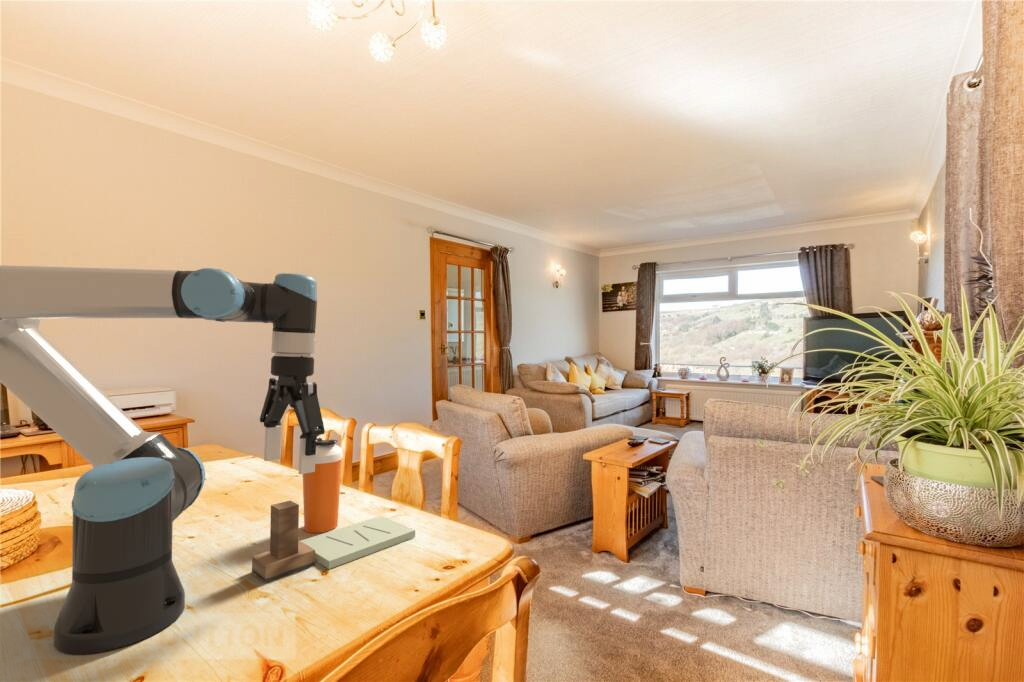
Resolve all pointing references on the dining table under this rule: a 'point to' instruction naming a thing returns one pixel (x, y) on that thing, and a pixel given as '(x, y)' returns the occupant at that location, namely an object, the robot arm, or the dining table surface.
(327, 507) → the shaker bottle
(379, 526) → the board
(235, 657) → the dining table surface
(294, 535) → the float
